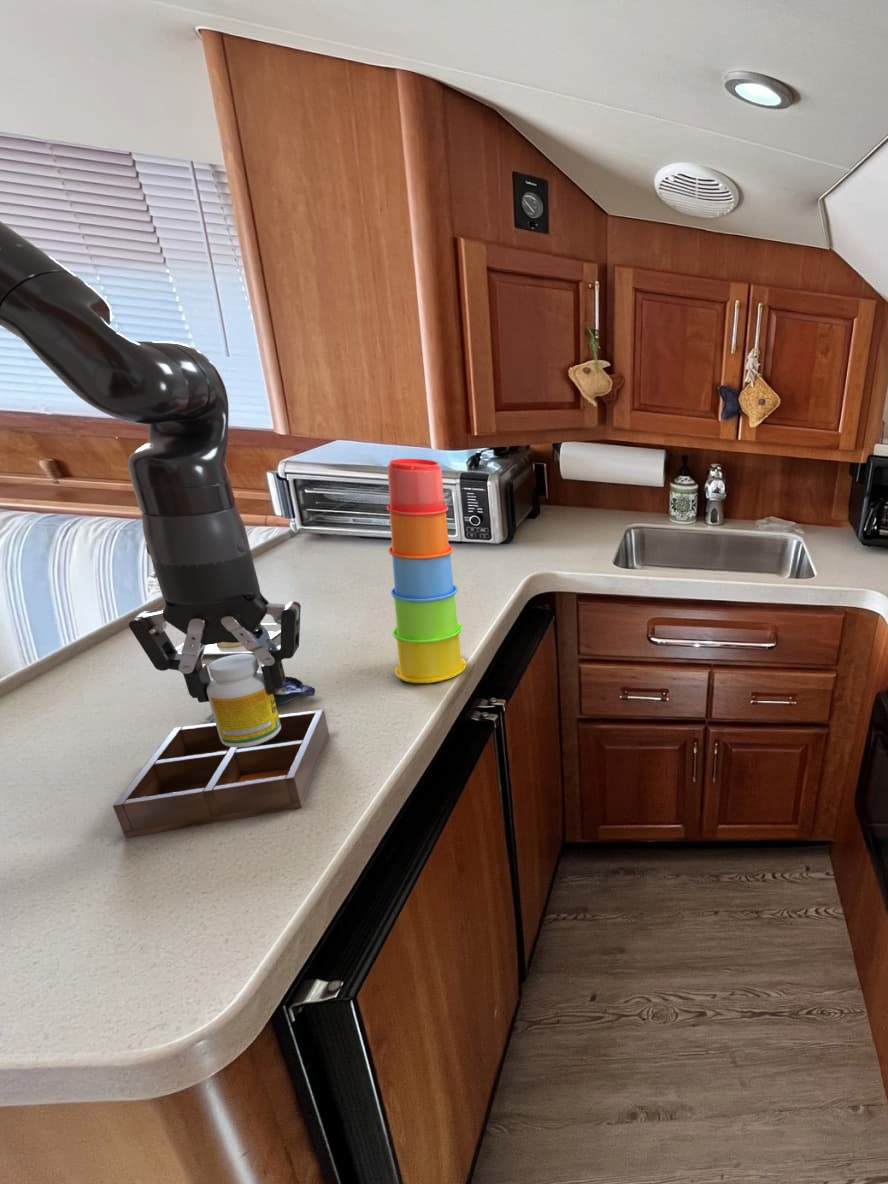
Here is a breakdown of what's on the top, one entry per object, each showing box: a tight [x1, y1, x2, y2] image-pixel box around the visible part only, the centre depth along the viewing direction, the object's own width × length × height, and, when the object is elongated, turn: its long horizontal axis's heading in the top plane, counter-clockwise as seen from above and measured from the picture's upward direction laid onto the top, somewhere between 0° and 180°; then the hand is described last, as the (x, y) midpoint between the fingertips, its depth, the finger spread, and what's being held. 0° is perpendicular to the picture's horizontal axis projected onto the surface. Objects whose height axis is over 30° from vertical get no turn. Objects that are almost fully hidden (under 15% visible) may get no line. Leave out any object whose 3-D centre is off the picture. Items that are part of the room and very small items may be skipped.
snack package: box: [203, 675, 316, 724], centre depth 92 cm, size 12×6×12 cm
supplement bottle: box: [207, 654, 281, 747], centre depth 71 cm, size 5×5×10 cm
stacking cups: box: [386, 458, 467, 684], centre depth 99 cm, size 10×10×35 cm
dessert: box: [175, 622, 281, 656], centre depth 107 cm, size 12×12×5 cm
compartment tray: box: [112, 709, 330, 839], centre depth 77 cm, size 15×15×4 cm
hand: (241, 694), depth 71 cm, fingers closed on supplement bottle, 5 cm apart
